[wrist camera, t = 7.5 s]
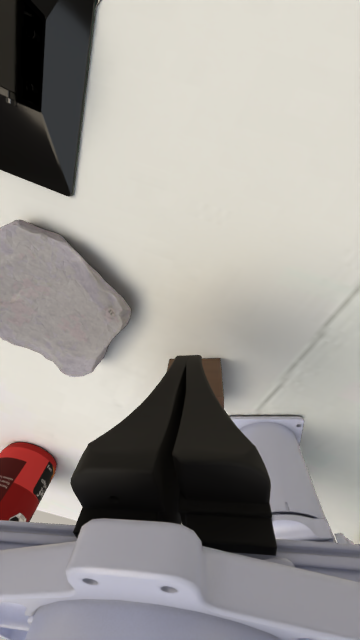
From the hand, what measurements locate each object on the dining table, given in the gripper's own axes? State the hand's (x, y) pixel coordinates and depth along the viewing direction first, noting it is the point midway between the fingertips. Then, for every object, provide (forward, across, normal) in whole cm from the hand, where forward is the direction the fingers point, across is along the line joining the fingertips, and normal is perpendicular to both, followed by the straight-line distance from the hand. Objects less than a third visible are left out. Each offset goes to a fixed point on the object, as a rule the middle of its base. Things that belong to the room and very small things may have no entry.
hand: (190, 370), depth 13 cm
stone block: (+9, +11, -2) cm, 14 cm away
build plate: (+9, +9, -16) cm, 20 cm away
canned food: (+9, +26, +22) cm, 35 cm away
